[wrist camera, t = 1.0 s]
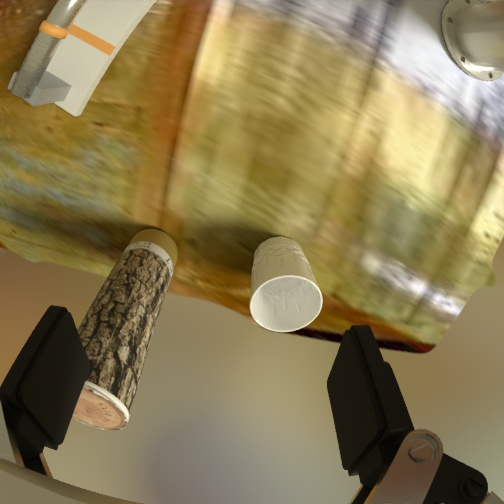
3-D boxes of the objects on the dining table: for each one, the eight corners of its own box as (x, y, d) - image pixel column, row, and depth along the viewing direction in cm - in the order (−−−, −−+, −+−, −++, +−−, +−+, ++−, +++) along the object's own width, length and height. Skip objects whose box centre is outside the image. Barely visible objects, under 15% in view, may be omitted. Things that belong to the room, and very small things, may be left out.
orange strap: (59, 17, 24) (20, 9, 16) (115, 46, 27) (81, 39, 20) (54, 25, 24) (15, 19, 17) (109, 55, 27) (74, 51, 20)
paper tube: (126, 258, 42) (50, 407, 20) (139, 218, 39) (47, 368, 17) (169, 277, 43) (121, 438, 22) (186, 238, 41) (135, 406, 19)
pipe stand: (135, -69, 19) (113, -94, 12) (196, -44, 23) (185, -72, 16) (30, 82, 29) (-8, 88, 22) (80, 115, 32) (45, 125, 25)
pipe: (130, -73, 15) (121, -84, 13) (151, -67, 16) (143, -78, 14) (22, 86, 23) (5, 89, 21) (37, 97, 24) (21, 100, 22)
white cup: (241, 275, 43) (241, 324, 35) (259, 224, 40) (262, 267, 31) (295, 287, 45) (305, 337, 36) (316, 240, 41) (334, 284, 32)
